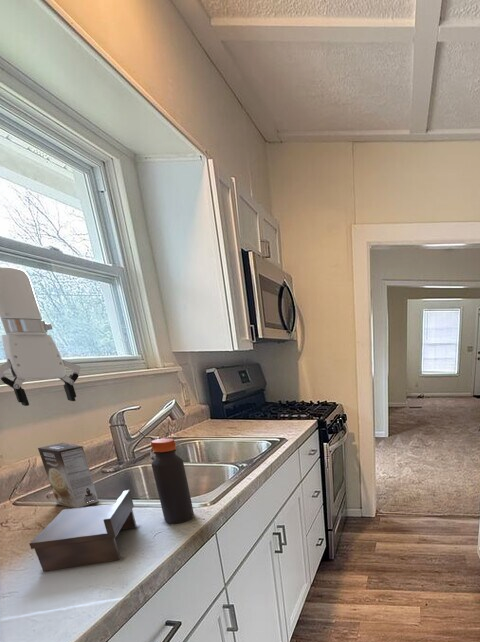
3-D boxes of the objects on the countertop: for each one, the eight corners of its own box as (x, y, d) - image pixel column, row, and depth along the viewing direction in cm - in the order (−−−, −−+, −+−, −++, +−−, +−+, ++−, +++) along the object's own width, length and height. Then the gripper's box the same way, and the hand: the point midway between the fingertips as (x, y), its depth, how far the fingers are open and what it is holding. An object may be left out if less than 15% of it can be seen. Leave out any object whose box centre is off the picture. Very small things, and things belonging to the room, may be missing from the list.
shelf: (40, 571, 78) (23, 529, 74) (71, 534, 94) (58, 497, 90) (122, 559, 82) (110, 518, 79) (139, 525, 98) (129, 489, 94)
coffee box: (55, 504, 111) (35, 447, 105) (79, 496, 116) (61, 442, 110) (77, 509, 108) (58, 450, 101) (100, 501, 113) (83, 445, 107)
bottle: (181, 511, 106) (165, 436, 98) (200, 515, 103) (185, 438, 95) (158, 521, 100) (139, 442, 92) (177, 526, 97) (159, 445, 90)
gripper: (62, 329, 103) (82, 398, 109) (-29, 328, 90) (0, 406, 96) (74, 328, 99) (94, 400, 105) (-20, 327, 86) (10, 408, 92)
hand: (49, 402), depth 101 cm, fingers open, 9 cm apart
